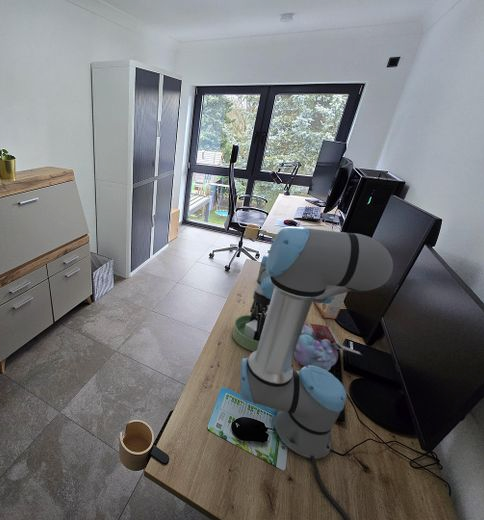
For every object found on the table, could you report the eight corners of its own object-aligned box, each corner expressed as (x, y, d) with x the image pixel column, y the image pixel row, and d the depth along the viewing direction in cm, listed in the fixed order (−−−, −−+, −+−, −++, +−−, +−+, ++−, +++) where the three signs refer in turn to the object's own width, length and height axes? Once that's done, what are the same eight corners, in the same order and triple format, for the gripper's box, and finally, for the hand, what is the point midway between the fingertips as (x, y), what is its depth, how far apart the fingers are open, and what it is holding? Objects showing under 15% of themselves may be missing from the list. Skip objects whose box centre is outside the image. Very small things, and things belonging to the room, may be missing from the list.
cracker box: (336, 319, 137) (352, 282, 127) (323, 317, 138) (337, 280, 128) (326, 302, 149) (339, 267, 140) (313, 301, 150) (326, 266, 141)
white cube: (263, 338, 123) (266, 327, 120) (254, 343, 120) (257, 332, 118) (251, 330, 128) (254, 319, 125) (242, 335, 125) (245, 324, 122)
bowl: (279, 355, 116) (282, 344, 113) (235, 350, 118) (237, 339, 115) (268, 327, 131) (271, 317, 128) (229, 323, 133) (231, 313, 131)
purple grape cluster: (270, 339, 117) (302, 322, 104) (298, 318, 128) (330, 300, 114) (306, 386, 110) (346, 374, 96) (332, 359, 121) (371, 345, 107)
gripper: (282, 308, 104) (268, 355, 114) (267, 279, 123) (257, 321, 133) (261, 306, 105) (249, 353, 115) (249, 277, 123) (240, 319, 134)
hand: (253, 336), depth 124 cm, fingers closed on white cube, 8 cm apart
